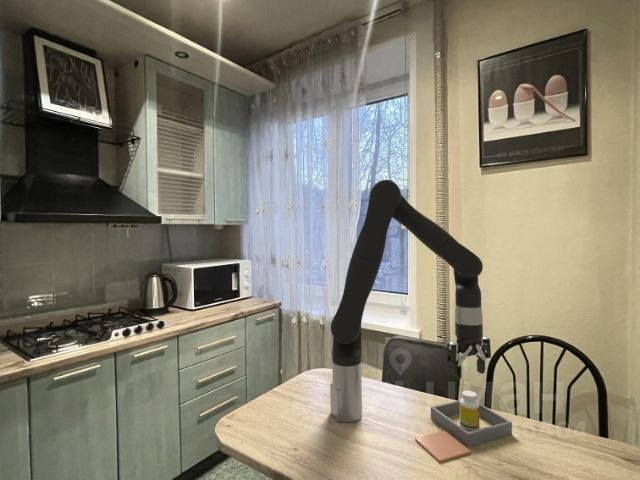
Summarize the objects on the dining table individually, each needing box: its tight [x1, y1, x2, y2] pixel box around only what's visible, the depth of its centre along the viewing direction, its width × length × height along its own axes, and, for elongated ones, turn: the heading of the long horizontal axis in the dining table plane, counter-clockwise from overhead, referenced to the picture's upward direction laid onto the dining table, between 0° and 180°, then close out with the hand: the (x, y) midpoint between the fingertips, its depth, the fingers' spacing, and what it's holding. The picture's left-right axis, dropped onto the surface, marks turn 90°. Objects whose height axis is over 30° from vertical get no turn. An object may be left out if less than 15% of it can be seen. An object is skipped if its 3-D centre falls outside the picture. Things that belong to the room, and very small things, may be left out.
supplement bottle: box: [459, 390, 480, 431], centre depth 102 cm, size 5×5×10 cm
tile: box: [415, 429, 472, 463], centre depth 92 cm, size 10×10×1 cm
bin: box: [430, 399, 513, 448], centre depth 102 cm, size 16×16×4 cm
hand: (469, 375), depth 102 cm, fingers open, 8 cm apart
